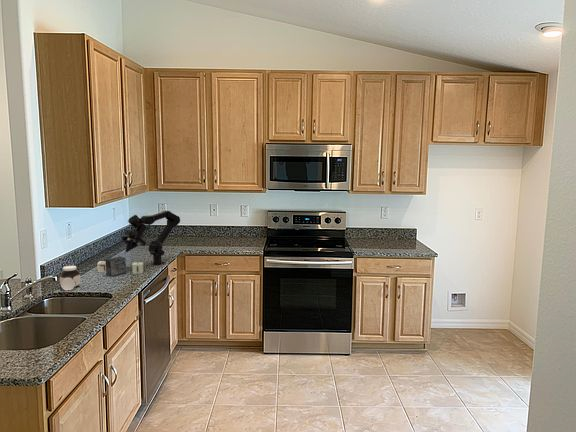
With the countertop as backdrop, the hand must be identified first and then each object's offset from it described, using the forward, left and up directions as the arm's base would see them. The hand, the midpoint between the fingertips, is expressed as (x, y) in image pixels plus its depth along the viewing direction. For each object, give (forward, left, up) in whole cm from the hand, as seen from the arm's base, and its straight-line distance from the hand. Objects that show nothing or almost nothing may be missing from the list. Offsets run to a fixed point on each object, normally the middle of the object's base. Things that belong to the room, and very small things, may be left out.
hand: (126, 251), depth 288 cm
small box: (+6, -6, -13) cm, 16 cm away
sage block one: (+4, +7, -13) cm, 15 cm away
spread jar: (+32, -27, -13) cm, 44 cm away
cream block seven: (-4, -15, -13) cm, 20 cm away
